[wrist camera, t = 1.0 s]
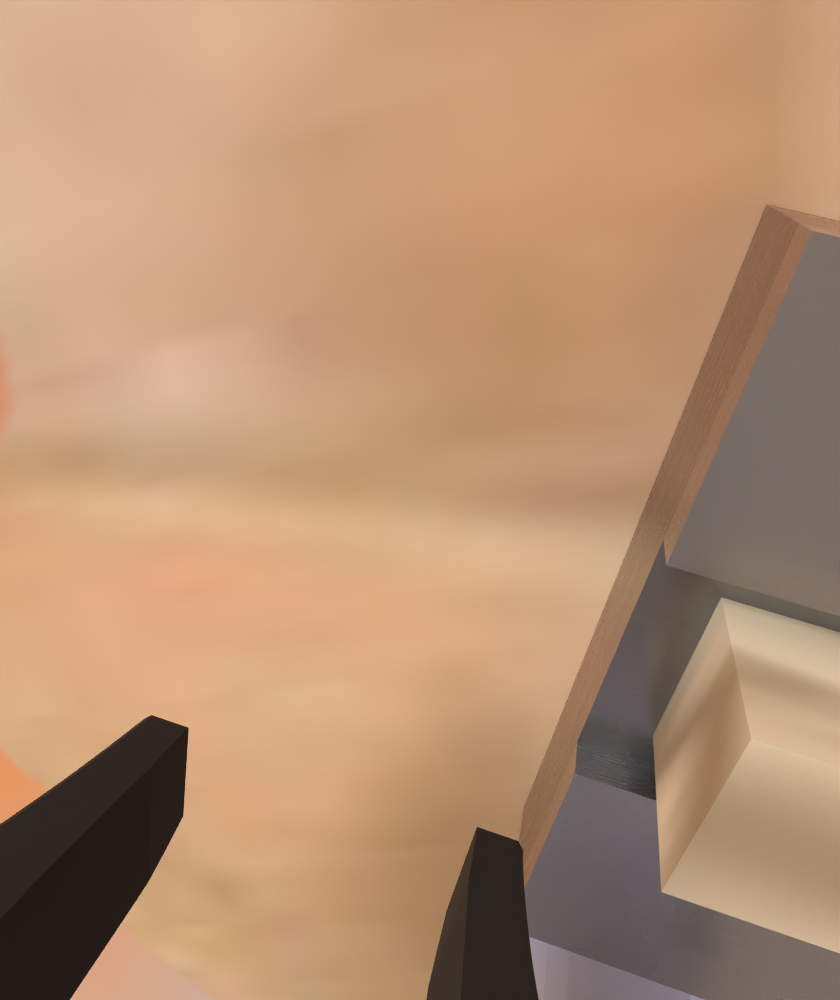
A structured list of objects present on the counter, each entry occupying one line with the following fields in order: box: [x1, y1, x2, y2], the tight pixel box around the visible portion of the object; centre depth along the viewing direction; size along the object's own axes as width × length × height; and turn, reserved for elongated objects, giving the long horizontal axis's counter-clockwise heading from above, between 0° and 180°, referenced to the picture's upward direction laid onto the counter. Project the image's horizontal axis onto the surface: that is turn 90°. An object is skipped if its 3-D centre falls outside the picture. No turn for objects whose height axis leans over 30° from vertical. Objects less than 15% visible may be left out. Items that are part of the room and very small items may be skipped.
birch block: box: [653, 597, 840, 953], centre depth 14 cm, size 4×4×4 cm
